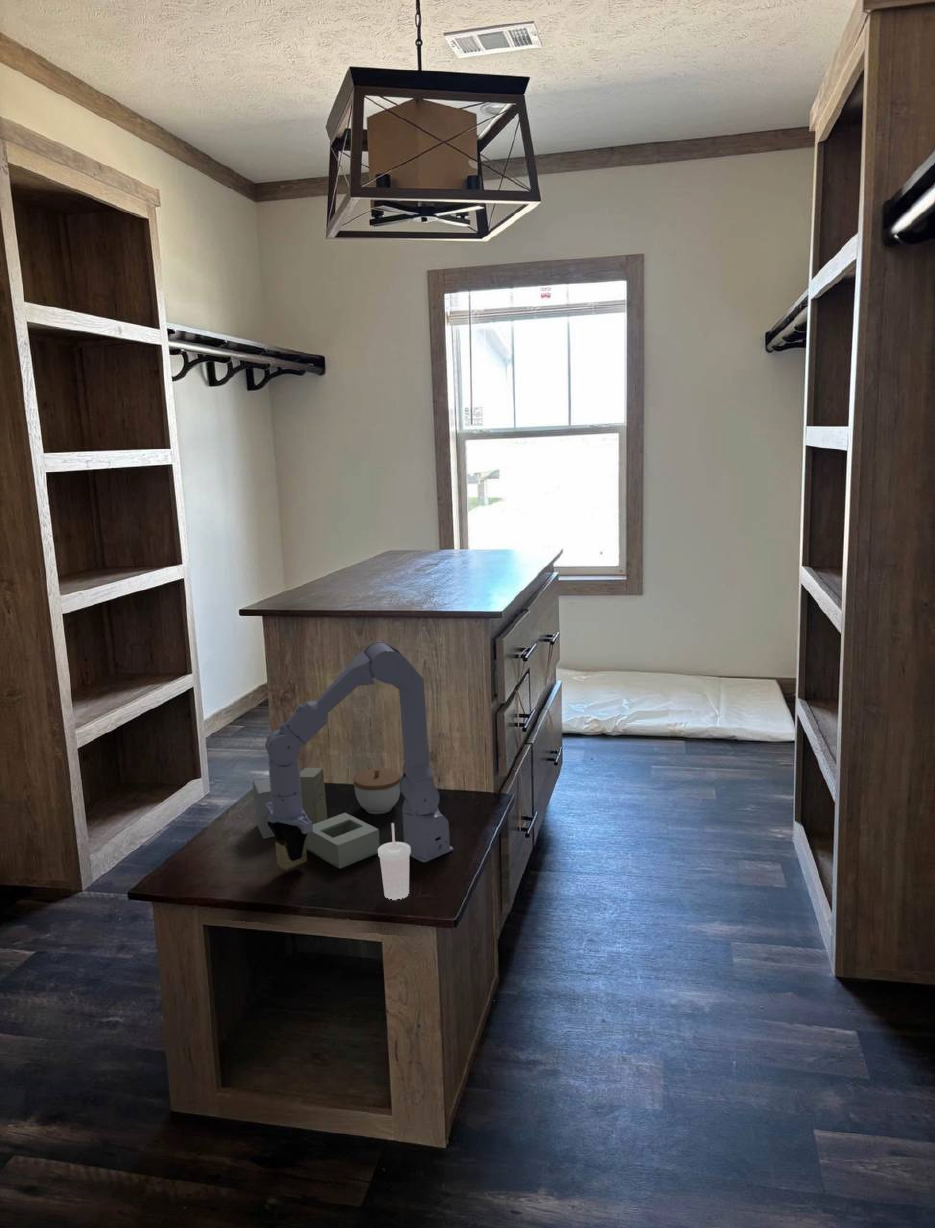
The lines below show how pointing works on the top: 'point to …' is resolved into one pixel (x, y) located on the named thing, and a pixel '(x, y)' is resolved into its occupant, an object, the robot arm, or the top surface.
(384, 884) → the beverage cup
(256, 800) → the small box
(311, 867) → the top surface
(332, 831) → the slot box
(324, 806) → the skincare box
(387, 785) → the lidded jar
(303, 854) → the wooden rectangular block
